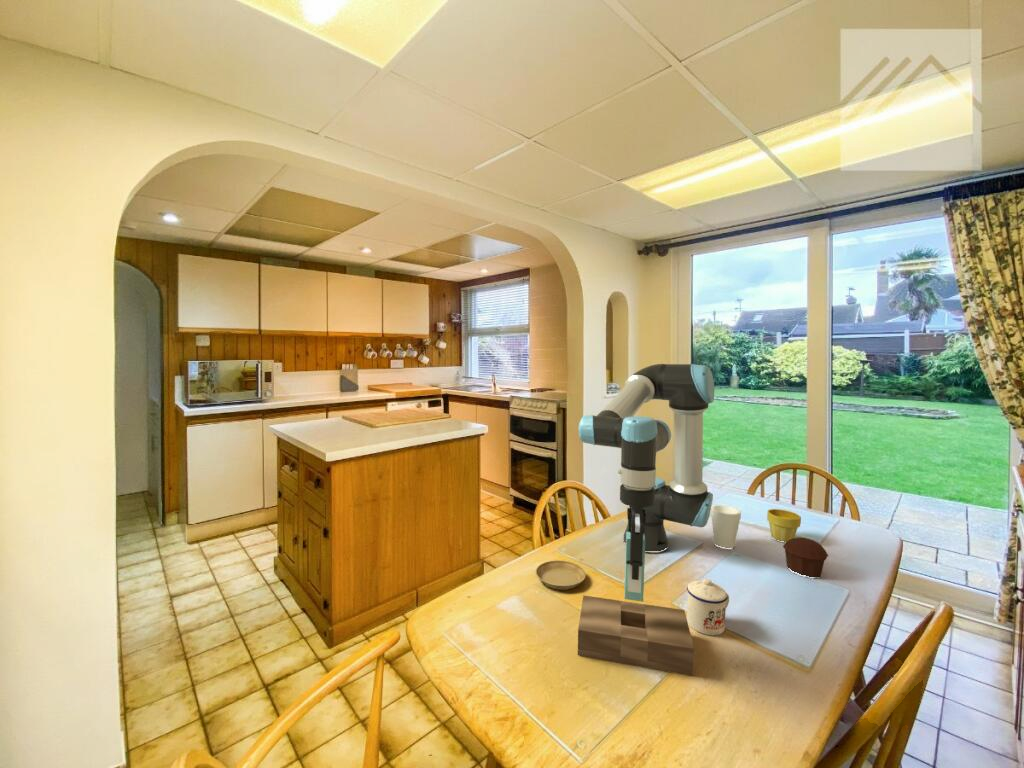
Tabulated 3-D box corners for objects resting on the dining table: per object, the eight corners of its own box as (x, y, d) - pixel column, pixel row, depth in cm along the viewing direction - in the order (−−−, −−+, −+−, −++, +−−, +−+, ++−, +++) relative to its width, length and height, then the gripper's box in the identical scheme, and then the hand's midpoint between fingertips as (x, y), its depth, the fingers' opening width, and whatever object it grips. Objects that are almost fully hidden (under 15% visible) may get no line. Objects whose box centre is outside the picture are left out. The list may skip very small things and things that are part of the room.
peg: (624, 589, 100) (626, 531, 100) (642, 592, 99) (644, 533, 99) (624, 599, 97) (626, 538, 96) (643, 601, 96) (645, 540, 95)
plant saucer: (545, 597, 118) (545, 588, 118) (529, 571, 132) (529, 563, 132) (594, 590, 122) (594, 581, 122) (573, 565, 136) (573, 557, 136)
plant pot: (799, 537, 158) (800, 512, 157) (800, 548, 149) (801, 521, 149) (766, 531, 163) (767, 506, 163) (765, 541, 155) (767, 515, 154)
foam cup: (703, 541, 154) (705, 506, 153) (724, 538, 157) (725, 503, 156) (724, 553, 145) (725, 515, 144) (745, 549, 148) (747, 513, 147)
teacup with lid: (706, 640, 100) (708, 593, 100) (677, 618, 109) (679, 574, 108) (742, 628, 105) (745, 582, 104) (712, 608, 114) (714, 565, 113)
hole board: (582, 618, 109) (583, 595, 108) (683, 633, 103) (684, 609, 102) (577, 655, 95) (578, 629, 95) (693, 676, 89) (694, 648, 89)
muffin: (813, 563, 139) (815, 533, 138) (835, 581, 128) (837, 549, 127) (774, 561, 140) (776, 531, 139) (793, 579, 129) (795, 546, 128)
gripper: (620, 474, 106) (617, 566, 107) (620, 495, 89) (616, 604, 90) (652, 476, 104) (648, 570, 105) (658, 499, 87) (654, 609, 89)
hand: (634, 585), depth 98 cm, fingers closed on peg, 4 cm apart
